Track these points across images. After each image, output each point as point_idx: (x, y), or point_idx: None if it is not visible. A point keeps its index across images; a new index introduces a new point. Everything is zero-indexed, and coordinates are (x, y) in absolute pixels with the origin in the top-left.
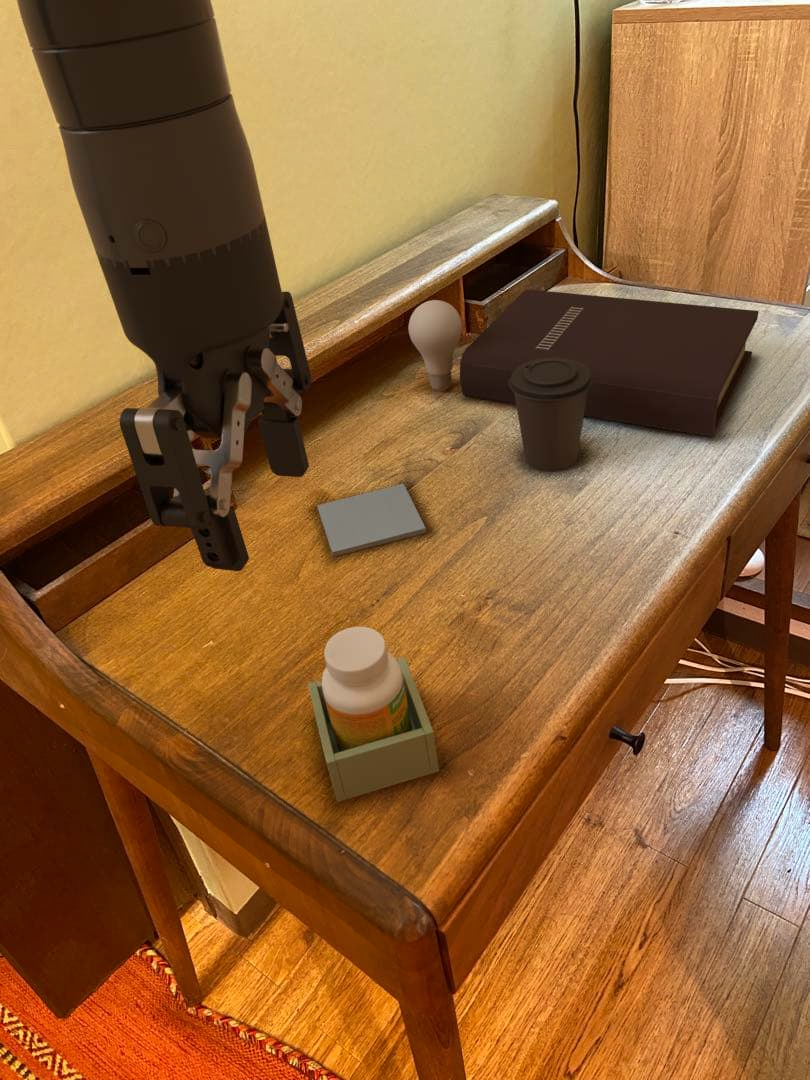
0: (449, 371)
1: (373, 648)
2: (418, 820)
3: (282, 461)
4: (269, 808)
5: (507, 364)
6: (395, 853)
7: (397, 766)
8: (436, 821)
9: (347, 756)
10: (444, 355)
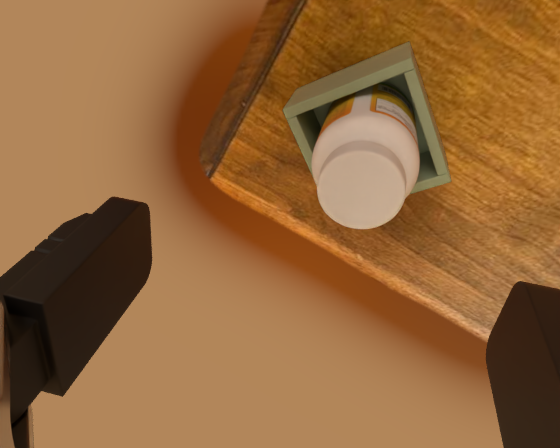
0: None
1: (358, 216)
2: (283, 170)
3: (513, 342)
4: (282, 8)
5: None
6: (248, 153)
7: None
8: (284, 185)
9: (293, 132)
10: None
